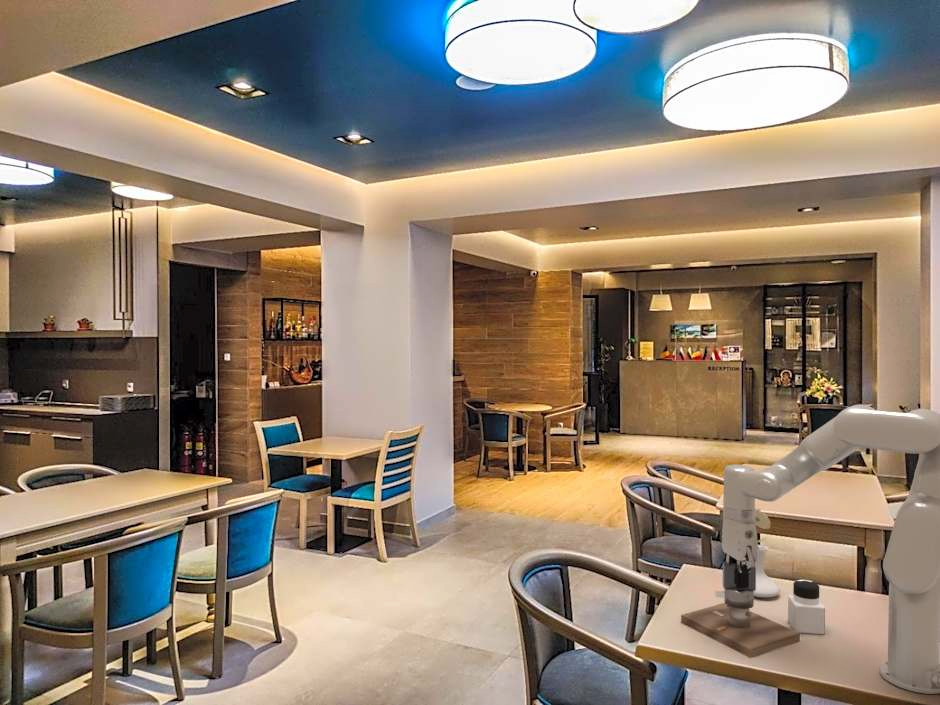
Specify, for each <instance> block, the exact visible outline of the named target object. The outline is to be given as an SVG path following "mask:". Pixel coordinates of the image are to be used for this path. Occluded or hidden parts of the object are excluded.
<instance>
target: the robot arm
mask: <svg viewBox="0 0 940 705" xmlns="http://www.w3.org/2000/svg"><path fill="white" fill-rule="evenodd" d="M861 448H864V449H871V450H876V451H877V450H879V451H887V452H894V453H896V452H897V453H902V454H903V453H904V454H916V455H917V454H918V461H917V464H916V468H915V470H914V474H913V476H914V477H913V479H912V483H911V486H910V490H909V492H908V495H907V497H906V499H905V500H904V501H903V503H902V504H901V506H900V507H899V509H898V511H897V514H896V516H895V520H894V523H893V527H892V530H891V533H890V538H889V540H888V543H887V548H886V551H885V555H884V558H883V562H882V568H883V573H884V576H885V578H886V580H887V581H888V583H889V586H888V616H887V617H888V622H887V625H888V627H887V628H888V629H887V630H888V632H887V633H888V634H887V661H884V662H882V663H881V664H880V665H879V673H880V676H882V678H883V679H884V680H885V681H887V682H889V683H890V684H892V685H894V686H896V687H899V688H900V689H904V690H907V691H909V692H914V693H920V694H928V695H937V694H940V413H938V412H937V411H934V410H931V409H929V408H928V409H926V408H917V409H913V410H911V411H908V412H895V411H883V410H876V409H875V408H874V407H872V406H869V405H867V404H854V405H851V406H849V407H847V408H844V409H843V410H841V411H840V412H839V413H837V415H836V416H835V417H833V418H832V419H830V420H829V421H827V422H826V423H825V424H823V425H822V426H820V427H819V428H817V429H816V430H815V431H813V432H812V433H810V434H808V435H807V436H806V437H805V438H804V439H802V441H801V442H800V444H799V445H798V446H797V447H796V448H794V449H793V450H792V451H790V452H789V453H788V454H786V455H785V456H784V457H782V458H780V459H779V460H778V461H776V462H775V463H773V464H772V465H769V466H768V467H766V468H764V469H762V470H755V469H754V468H753V467H751V466H749V465H746V464H729V465H726V466H725V467H724V469H723V505H722V506H723V507H722V508H723V509H722V515H723V516H722V519H723V521H722V529H721V549H722V551H723V553H724V556H725V560H726V561H725V563H737V568H738V572H736V587H737V588H748V587H749V573H750V570H751V569H752V568H754V567H755V561H757V559H758V545H759V544H758V542H757V541H758V533H757V532H758V531H757V526H756V525H755V523H754V521H755V508H756V500H759V501H762V502H769V503H770V502H775V501H778V500H779V499H781V498H782V497H784V495H785V496H786V494H788V493H790V492H791V491H793V490H794V489H795V488H796V487H798V486H800V485H801V484H803V483H804V482H806V481H807V480H808V479H811V478H812V477H813V476H815V475H817V474H818V473H820V472H822V471H826V470H829V469H830V468H832V467H833V466H835V465H836V464H838V463H839V462H841V461H842V460H844V459H846V458H847V457H849V456H850V455H851V454H853V453H854V452H856V451H857V450H860V449H861ZM742 564H745V565H743V566H742Z"/></svg>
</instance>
